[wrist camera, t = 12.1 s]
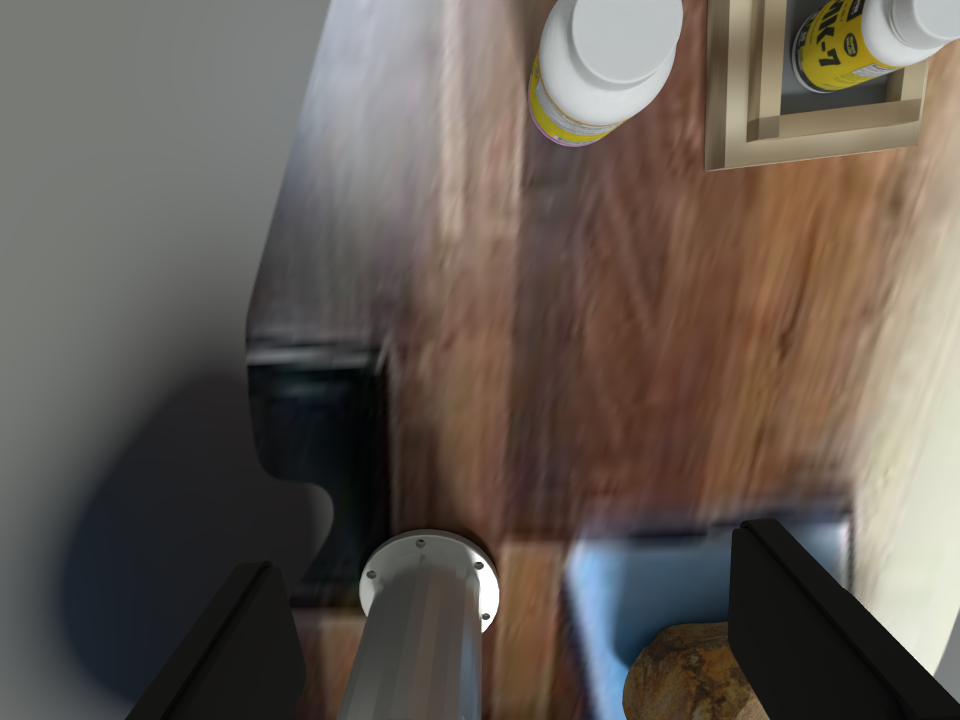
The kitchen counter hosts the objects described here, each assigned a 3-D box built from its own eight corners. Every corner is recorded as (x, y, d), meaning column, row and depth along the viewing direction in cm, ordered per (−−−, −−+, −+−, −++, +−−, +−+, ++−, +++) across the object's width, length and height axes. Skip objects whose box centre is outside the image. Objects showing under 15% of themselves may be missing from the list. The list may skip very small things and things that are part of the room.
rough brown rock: (896, 600, 45) (1093, 763, 30) (828, 742, 48) (977, 952, 33) (656, 542, 44) (737, 679, 30) (604, 690, 47) (654, 879, 33)
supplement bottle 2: (795, 4, 28) (920, -82, 20) (877, 3, 28) (1035, -85, 20) (782, 96, 29) (894, 49, 21) (860, 94, 29) (1001, 47, 21)
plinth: (880, 151, 33) (937, 141, 29) (704, 171, 34) (735, 164, 29) (904, -57, 30) (973, -102, 26) (708, -31, 30) (744, -71, 26)
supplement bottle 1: (586, 15, 31) (651, -119, 19) (644, 102, 33) (740, 30, 20) (505, 88, 32) (517, 9, 20) (564, 169, 34) (609, 141, 21)
